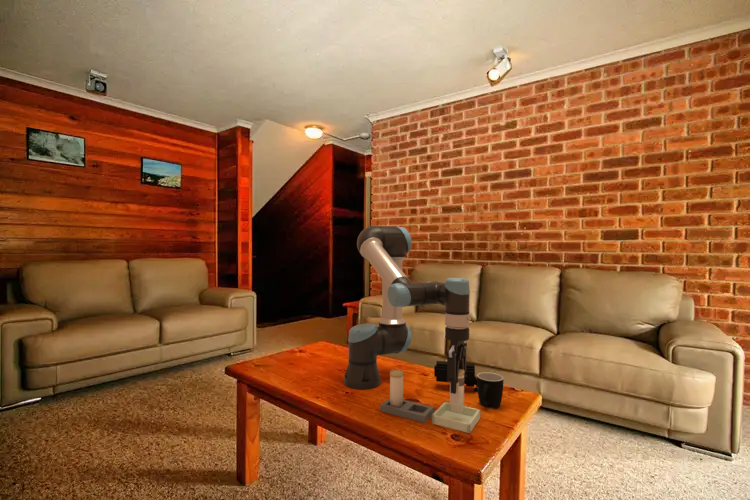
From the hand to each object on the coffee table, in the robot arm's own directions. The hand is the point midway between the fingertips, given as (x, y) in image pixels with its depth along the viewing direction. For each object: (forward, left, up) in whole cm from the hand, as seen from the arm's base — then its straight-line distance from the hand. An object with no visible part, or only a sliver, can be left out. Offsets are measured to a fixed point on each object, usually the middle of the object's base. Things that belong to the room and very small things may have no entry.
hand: (456, 399), depth 115 cm
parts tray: (0, 0, -7) cm, 7 cm away
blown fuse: (0, 0, -3) cm, 3 cm away
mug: (+6, +17, -7) cm, 20 cm away
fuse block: (-16, -3, -7) cm, 18 cm away
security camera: (-8, +27, -7) cm, 29 cm away
